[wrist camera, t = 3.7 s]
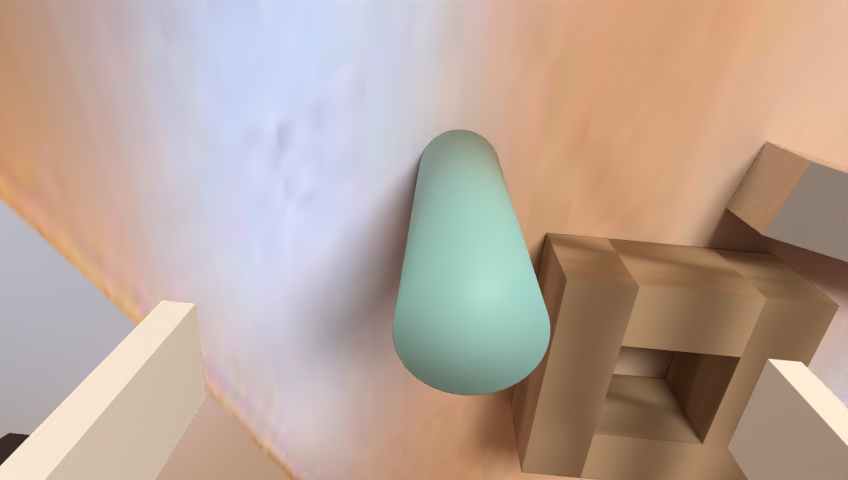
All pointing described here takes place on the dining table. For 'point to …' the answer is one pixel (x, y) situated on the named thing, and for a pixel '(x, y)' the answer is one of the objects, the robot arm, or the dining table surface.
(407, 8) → the dining table surface
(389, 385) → the dining table surface
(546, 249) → the socket block
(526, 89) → the dining table surface
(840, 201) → the grey bar
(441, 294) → the peg
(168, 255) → the dining table surface
